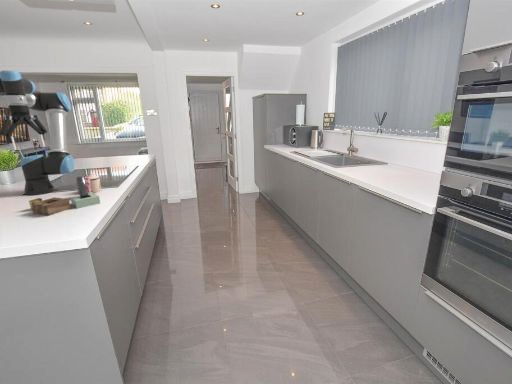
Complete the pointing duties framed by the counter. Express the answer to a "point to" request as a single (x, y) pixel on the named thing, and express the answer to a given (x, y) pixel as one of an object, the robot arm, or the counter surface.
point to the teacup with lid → (95, 182)
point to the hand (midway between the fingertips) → (28, 148)
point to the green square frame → (85, 200)
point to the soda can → (87, 185)
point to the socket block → (51, 206)
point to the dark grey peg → (82, 187)
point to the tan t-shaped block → (35, 201)
